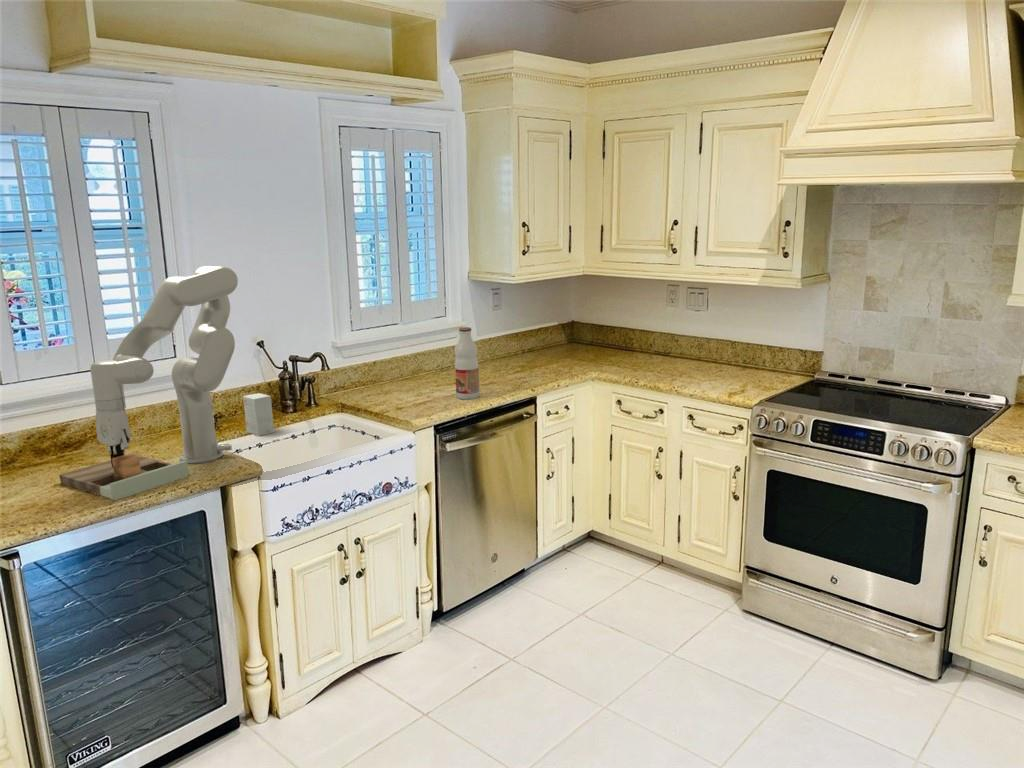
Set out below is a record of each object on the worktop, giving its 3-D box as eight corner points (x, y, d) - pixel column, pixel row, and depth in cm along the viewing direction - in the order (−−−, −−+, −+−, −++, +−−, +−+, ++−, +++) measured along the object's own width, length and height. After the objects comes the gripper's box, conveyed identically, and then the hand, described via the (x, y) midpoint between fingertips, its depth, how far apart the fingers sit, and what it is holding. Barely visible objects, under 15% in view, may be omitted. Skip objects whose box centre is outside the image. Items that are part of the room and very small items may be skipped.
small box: (274, 432, 266) (271, 395, 263) (258, 436, 261) (254, 399, 259) (262, 428, 271) (259, 392, 268) (246, 432, 267) (242, 395, 264)
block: (114, 475, 217) (111, 458, 216) (131, 470, 221) (129, 453, 220) (124, 478, 214) (121, 461, 213) (141, 472, 218) (138, 456, 217)
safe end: (100, 495, 208) (98, 480, 207) (174, 472, 226) (172, 457, 225) (115, 500, 204) (112, 484, 203) (188, 476, 222) (187, 461, 221)
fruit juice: (479, 399, 304) (476, 329, 298) (455, 400, 304) (452, 330, 298) (480, 394, 313) (477, 326, 307) (456, 394, 313) (453, 326, 307)
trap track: (60, 483, 219) (59, 474, 219) (133, 461, 237) (132, 454, 237) (100, 495, 208) (99, 487, 207) (174, 472, 226) (173, 464, 225)
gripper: (83, 404, 218) (92, 466, 221) (111, 410, 209) (120, 474, 213) (109, 398, 224) (117, 459, 228) (138, 404, 215) (146, 467, 219)
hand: (118, 466), depth 220 cm, fingers closed
